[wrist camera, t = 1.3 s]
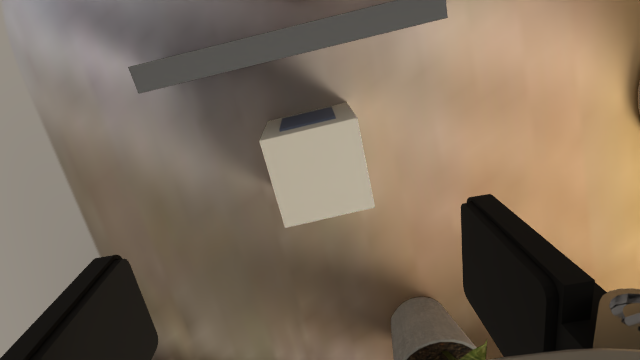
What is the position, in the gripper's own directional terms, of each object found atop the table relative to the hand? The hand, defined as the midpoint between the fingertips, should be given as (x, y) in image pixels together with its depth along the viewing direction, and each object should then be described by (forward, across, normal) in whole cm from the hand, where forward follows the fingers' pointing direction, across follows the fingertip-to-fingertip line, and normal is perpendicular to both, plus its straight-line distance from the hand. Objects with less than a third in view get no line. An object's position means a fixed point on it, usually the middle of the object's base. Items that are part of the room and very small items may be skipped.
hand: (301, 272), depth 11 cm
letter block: (+19, -1, +2) cm, 19 cm away
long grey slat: (+19, 0, -6) cm, 20 cm away
